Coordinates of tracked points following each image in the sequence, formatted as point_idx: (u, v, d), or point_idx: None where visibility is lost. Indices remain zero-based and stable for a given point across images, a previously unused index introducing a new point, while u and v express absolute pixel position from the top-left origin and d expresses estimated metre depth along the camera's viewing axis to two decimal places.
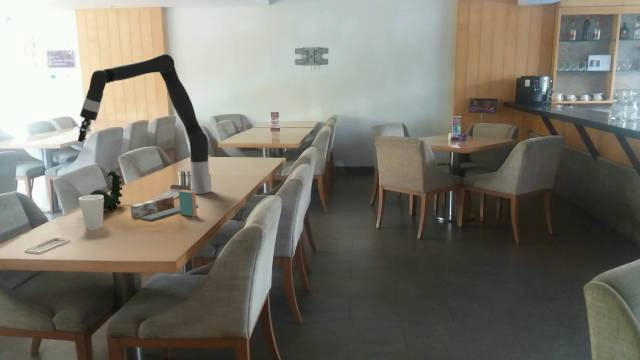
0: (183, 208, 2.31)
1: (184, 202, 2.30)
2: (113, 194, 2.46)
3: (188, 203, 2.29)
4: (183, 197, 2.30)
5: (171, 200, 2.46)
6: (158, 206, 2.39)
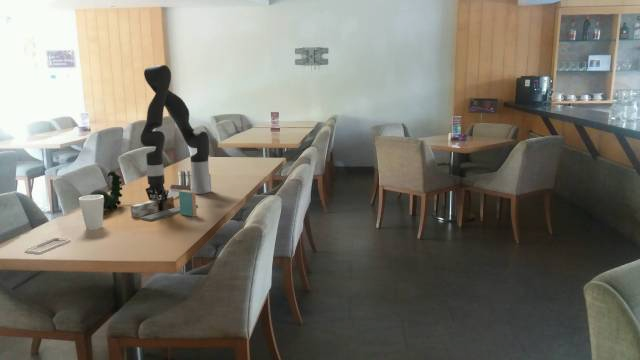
0: (183, 208, 2.31)
1: (184, 202, 2.30)
2: (113, 194, 2.46)
3: (188, 203, 2.29)
4: (183, 197, 2.30)
5: (171, 200, 2.46)
6: (158, 206, 2.39)
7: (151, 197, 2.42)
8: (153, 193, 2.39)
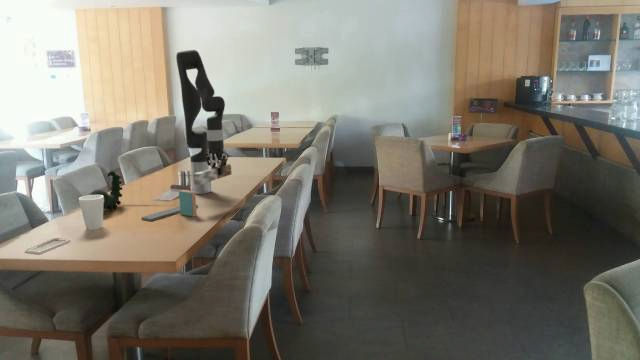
0: (183, 208, 2.31)
1: (184, 202, 2.30)
2: (113, 194, 2.46)
3: (188, 203, 2.29)
4: (183, 197, 2.30)
5: (229, 168, 2.50)
6: (217, 174, 2.44)
7: (210, 162, 2.46)
8: (212, 158, 2.44)
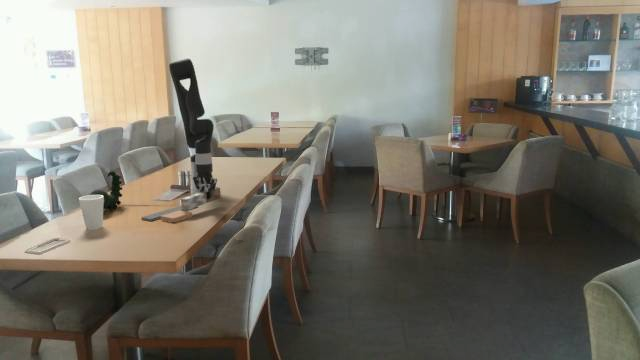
0: None
1: None
2: (113, 194, 2.46)
3: None
4: None
5: (218, 191, 2.45)
6: (206, 198, 2.39)
7: (198, 186, 2.41)
8: (201, 182, 2.38)
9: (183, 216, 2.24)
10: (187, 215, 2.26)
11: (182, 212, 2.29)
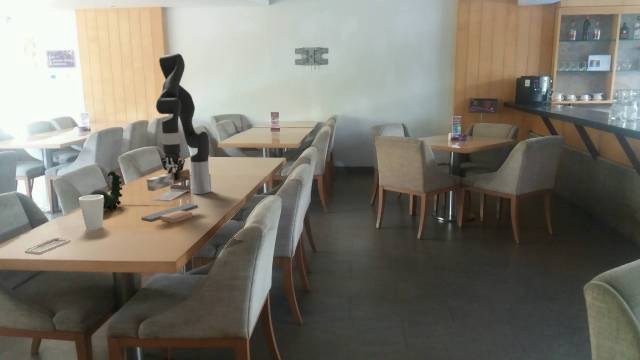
0: None
1: None
2: (113, 194, 2.46)
3: None
4: None
5: (187, 173, 2.39)
6: (174, 179, 2.33)
7: (166, 167, 2.36)
8: (169, 162, 2.33)
9: (183, 216, 2.24)
10: (187, 215, 2.26)
11: (182, 212, 2.29)
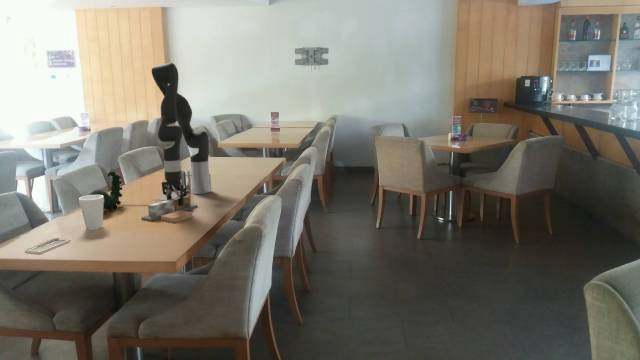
0: None
1: None
2: (113, 194, 2.46)
3: None
4: None
5: (188, 199, 2.42)
6: (175, 206, 2.35)
7: None
8: (169, 189, 2.36)
9: (183, 216, 2.24)
10: (187, 215, 2.26)
11: (182, 212, 2.29)
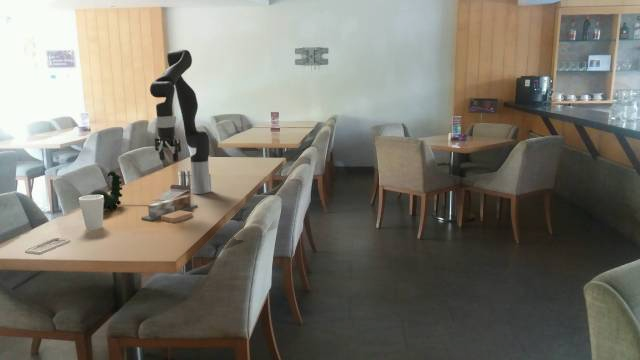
0: None
1: None
2: (113, 194, 2.46)
3: None
4: None
5: (188, 199, 2.42)
6: (175, 206, 2.35)
7: (157, 148, 2.40)
8: (162, 145, 2.36)
9: (183, 216, 2.24)
10: (187, 215, 2.26)
11: (182, 212, 2.29)
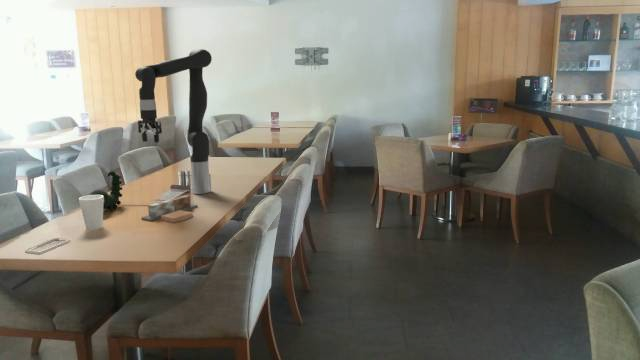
0: None
1: None
2: (113, 194, 2.46)
3: None
4: None
5: (188, 199, 2.42)
6: (175, 206, 2.35)
7: (140, 130, 2.54)
8: (144, 127, 2.51)
9: (183, 216, 2.24)
10: (187, 215, 2.26)
11: (182, 212, 2.29)
